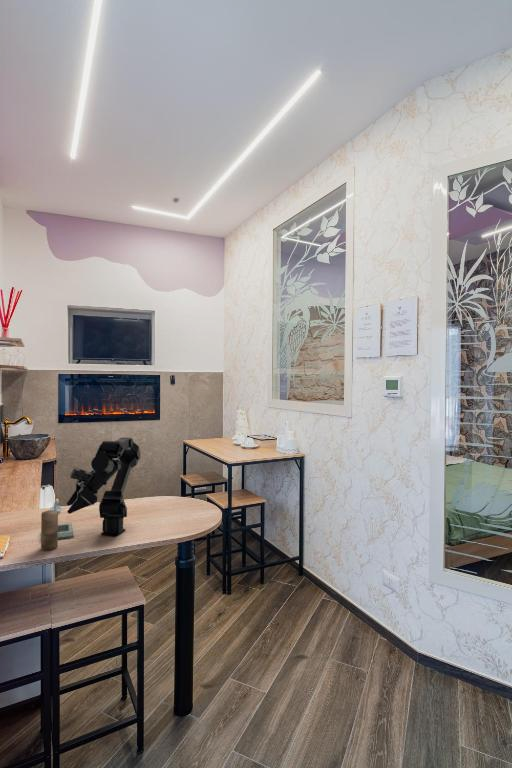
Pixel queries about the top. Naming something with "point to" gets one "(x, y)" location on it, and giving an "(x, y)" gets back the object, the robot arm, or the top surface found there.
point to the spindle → (49, 530)
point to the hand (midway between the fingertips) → (67, 508)
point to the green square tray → (65, 531)
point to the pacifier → (56, 506)
